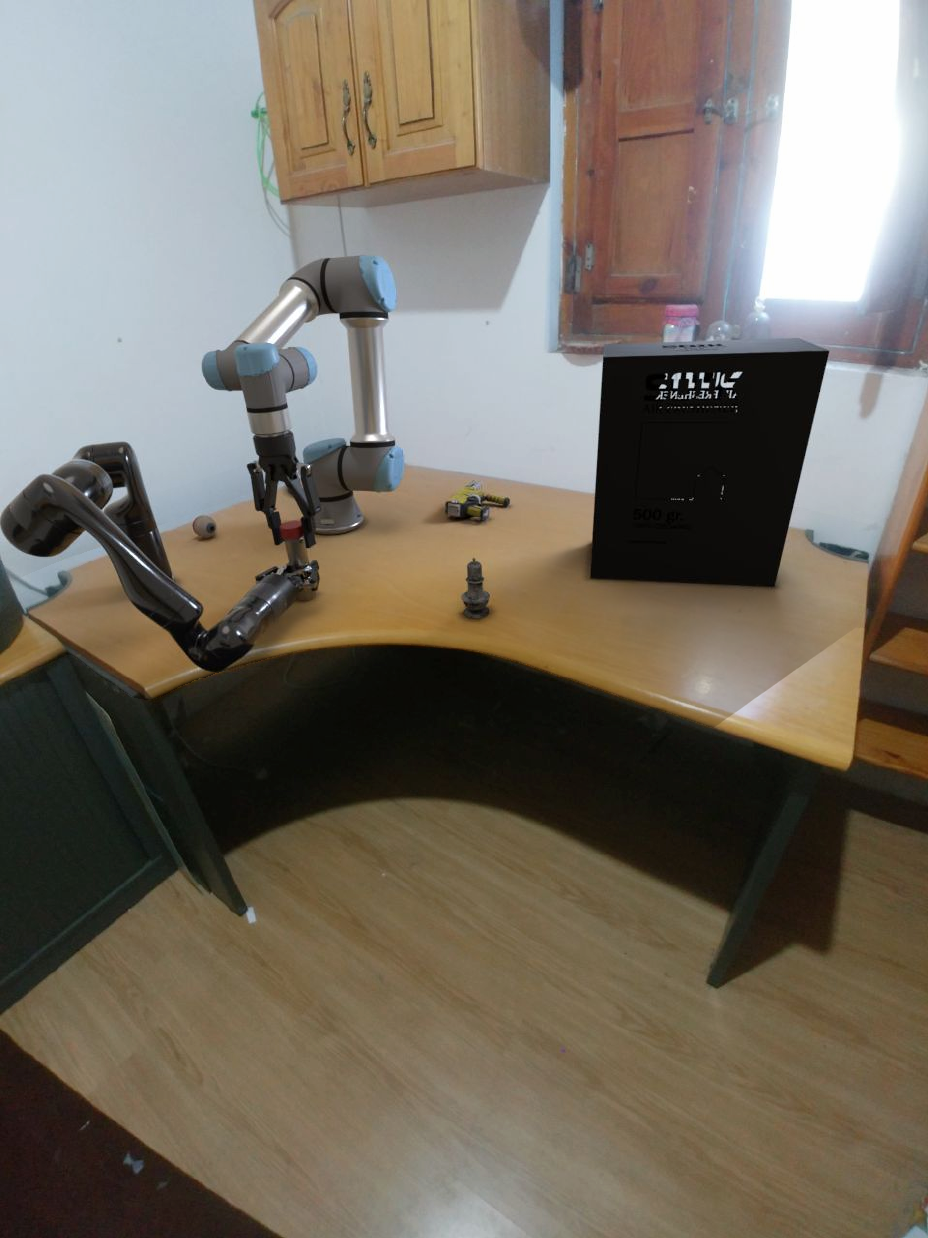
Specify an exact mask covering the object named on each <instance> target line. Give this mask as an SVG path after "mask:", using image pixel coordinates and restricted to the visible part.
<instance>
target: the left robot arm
mask: <svg viewBox="0 0 928 1238" xmlns="http://www.w3.org/2000/svg"><path fill="white" fill-rule="evenodd" d="M121 488H126V494H125V495H124V496H122V497H121V498H118V500H115V501H112V502H111V503H109V502H110V501H111V499H112V497H113V494H114V493H113V492H114V489H121ZM0 530H1V533H2V534H3V536H4V538H5V539H6V540H7V542H8V543H9V544H11V545H12V546H13V547H14V548H15V549H16V550H18V551H20V552H22V553H24V554H27V555H28V556H29V555H30V556H32V557H37V558H52V557H56V556H58V555H60V554H62V553H63V552H65V551H66V550H67V549H69V548H70V546H71V545H72V544H73V543H74V542H75V541H76V540H77V539H78V538H80V536H81V535H82V534H83V533H84V532H87V533H88V534H89V535H90V536H92V537H93V538H94V539H95V540H96V541H97V542H98V543H99V545H100V546H101V547H102V548H103V550H104V551H105V552H106V554H107V555H108V557H109V559H110V561H111V563H112V565H113V568H114V570H115V572H116V574H117V577H118V579H119V582H120V585H121V587H122V589H123V591H124V594H125V595H126V597H127V599H128V600H129V602H130V603H131V605H133V606H134V607H135V608H136V610H137V611H139V612H140V613H141V614H142V615H144V616H145V617H147V619H149V620H151V622H153V623H154V624H156V625H158V626H159V627H160V628H161V629H162V630H163V631H165V632H167V633H168V635H170V637H171V638H172V639H173V641H174V642H175V643H176V644H177V645H176V646H178V647H179V648H180V650H181V651H182V652H183V653H184V654H185V655H186V657H187V658H188V659H189V660H190V661H191V663H193V665H195V666H196V667H198V668H199V669H201V670H204V671H206V672H209V673H220V672H223V671H225V670H226V669H227V668H230V667H231V666H232V665H234V664H235V663H236V662H238V661H240V660H241V659H243V658H244V657H245V656H246V655H248V654H249V652H250V651H251V650H252V649H253V648H254V647H255V646H256V644H257V643H258V641H259V639H260V638H261V636H262V635H263V634H264V633H265V632H266V631H267V630H268V628H270V626H271V625H273V624H274V623H275V622H277V621H278V620H279V619H280V618H281V617H282V616H283V615H284V614H285V612H286V611H287V610H289V608H290V607H291V606H292V605H293V604H294V603H295V602H296V599H297V597H296V596H297V594H298V593H299V592H302V591H303V590H304V588H311V590H312V591H315V592H317V591H318V589H319V585H320V581H321V578H320V572H319V571H320V564H319V562H318V560H317V559H313V560H311V562H309V565H308V566H307V567H306V568H304V569H303V570H301V569H298V570H297V571H295V572H293V573H292V574H291V569H290V564H289V562H287V563H286V564H284V565H281V566H280V567H278V566H277V565H275V566H272V567H270V568H268V569H266V570H264V571H262V572H260V573H259V574H257V575H255V576H254V578H255V583H256V584H255V585H253V587H252V588H250V590H249V591H248V592H247V593H246V594H245V595H244V597H242V599H240V600H239V602H237V604H235V605H234V606H233V607H232V608H231V609H230V610H229V611H228V613H227V615H226V616H225V617H224V618H222V619H220V621H218V622H217V623H216V624H215V625H213V626H212V627H211V628H209V629H208V630H207V629H206V628H205V626H204V625H203V624H202V623H201V617H202V616H203V613H204V606H203V604H202V603H201V601H199V600H198V599H197V598H196V597H195V596H194V595H192V594H191V593H189V592H188V591H187V590H186V589H185V588H184V587H182V586H181V585H180V584H179V583H177V581H176V579H175V573H174V572H173V570H172V568H171V564H170V562H169V559H168V558H169V557H168V555H167V552H166V549H165V546H164V542H163V540H162V537H161V535H160V531H159V528H158V524H157V521H156V518H155V516H154V513H153V509H152V505H151V503H150V499H149V496H148V493H147V490H146V487H145V483H144V479H143V475H142V471H141V468H140V464H139V461H138V456H137V454H136V452H135V450H134V448H133V446H132V445H131V444H130V443H129V442H127V441H123V440H122V441H121V440H119V441H111V442H103V443H101V442H100V443H95V444H94V443H93V444H88V445H87V444H86V445H85V446H81V447H80V448H79V449H77V451H76V452H75V453H74V455H73V457H72V458H71V459H70V460H68V461H67V462H66V463H64V464H62V465H61V466H59V467H58V468H56V469H55V470H53V471H52V473H42V474H39V475H37V476H36V477H35V478H34V479H33V480H31V482H29V483H28V484H27V485H26V486H25V487H24V488H23V489H22V490H21V491H20V492H19V493H18V494H17V495H16V496H15V497H14V498H13V499H12V500H11V501H10V502H9V503H8V504H7V506H5V507H4V509H3V510H2V512H1V514H0ZM306 573H307V577H306Z"/></svg>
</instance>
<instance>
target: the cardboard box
mask: <svg viewBox="0 0 928 1238" xmlns="http://www.w3.org/2000/svg"><path fill="white" fill-rule="evenodd" d="M829 356H830V350H829V349H827V348H824V347H822V346H819V345H817V344H815V343H813V342H809V341H808V340H804V339H802V338H799V337H787V338H786V337H785V338H756V339H755V338H753V339H751V338H750V339H724V340H691V341H689V340H688V341H661V342H631V343H604V344H603V353H602V368H601V385H600V386H601V387H600V399H599V400H600V402H599V416H598V417H599V419H598V434H597V436H598V437H597V452H596V467H595V468H596V470H595V487H594V502H593V503H594V504H593V521H592V535H591V536H592V538H591V554H590V569H589V571H590V572H589V578H590V579H600V580H625V581H647V582H665V583H666V582H667V583H668V582H669V583H688V584H689V583H691V584H692V583H693V584H714V585H735V586H755V587H756V586H757V587H759V586H760V587H776V583H777V579H778V575H779V572H780V571H779V570H780V566H781V562H782V557H783V553H784V549H785V545H786V541H787V536H788V532H789V528H790V523H791V519H792V514H793V510H794V506H795V502H796V497H797V493H798V489H799V485H800V480H801V475H802V473H803V472H802V471H803V467H804V464H805V457H806V454H807V449H808V446H809V441H810V437H811V433H812V428H813V425H814V419H815V415H816V411H817V407H818V403H819V398H820V395H821V390H822V385H823V381H824V376H825V373H826V368H827V363H828V360H829ZM735 373H740V374H739V376H738V377H733V375H734V374H735ZM676 374H680V378H678V381H677V387H674V386H675V385H674V384H675V378H673V377H674V375H676ZM687 374H692V378H691V384H694V385H693V387H689V385H690V378H687ZM701 374H703V378H700V376H701ZM718 374H719V378H718ZM722 377H723V382H722ZM717 379H718V383H717ZM722 383H723V384H727V383H729V384H731V383H733V384H732V387H731V386H730V387H726V386H725V387H724V386H723V385H722ZM703 384H708V387H702V385H703ZM662 386H665V387H664V388H663V387H662ZM661 387H662V388H661Z"/></svg>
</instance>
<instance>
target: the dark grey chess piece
mask: <svg viewBox="0 0 928 1238" xmlns="http://www.w3.org/2000/svg"><path fill="white" fill-rule="evenodd" d="M471 560H472V561H471ZM471 560H470V562H468V563H467V565H466V574H467V575H466V576H467V577H466V578H465V582H466V583H467V589H466V591H464V592H463V593H462V594H461V596H460V599H461V600H462V602H463V605H464V606H465V608H464V609H463V615H464V616H465V617H467V618H469V619H481V618H485V617H487V616H488V615H489V614H490V609H489V608H488V607H487V606H488V604H489V602H490V599H491V594H490V592H489V591H487V590H484V581H485V577H484V576H483V566H482V563H481V562H480V561H477V560H476V557H473V558H472V559H471Z"/></svg>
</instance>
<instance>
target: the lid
mask: <svg viewBox="0 0 928 1238" xmlns="http://www.w3.org/2000/svg"><path fill="white" fill-rule="evenodd" d="M280 532H281V536H282V538H284V539H297V538H300V537H302V536H304V535H303V530H302V525H301V520H289V521H285V522H283V523H282V524H281V525H280Z"/></svg>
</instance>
